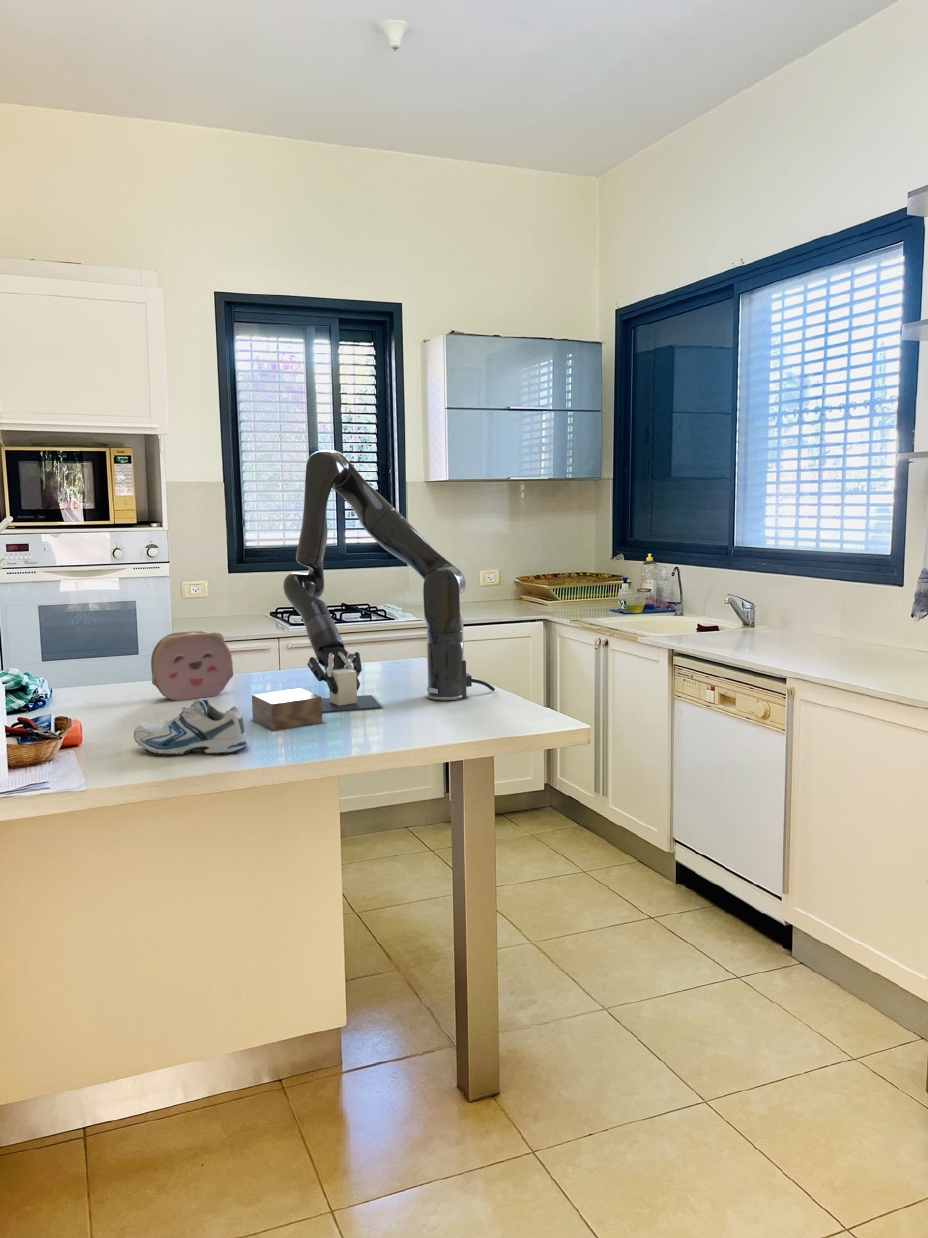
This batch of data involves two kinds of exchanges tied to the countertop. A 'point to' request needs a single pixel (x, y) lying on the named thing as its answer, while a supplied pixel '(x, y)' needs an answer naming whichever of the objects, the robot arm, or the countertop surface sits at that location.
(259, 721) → the brown box
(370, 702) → the rubber mat
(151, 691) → the countertop surface
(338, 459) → the robot arm
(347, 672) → the cream box
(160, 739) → the athletic shoe
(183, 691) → the face sculpture
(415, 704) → the countertop surface
